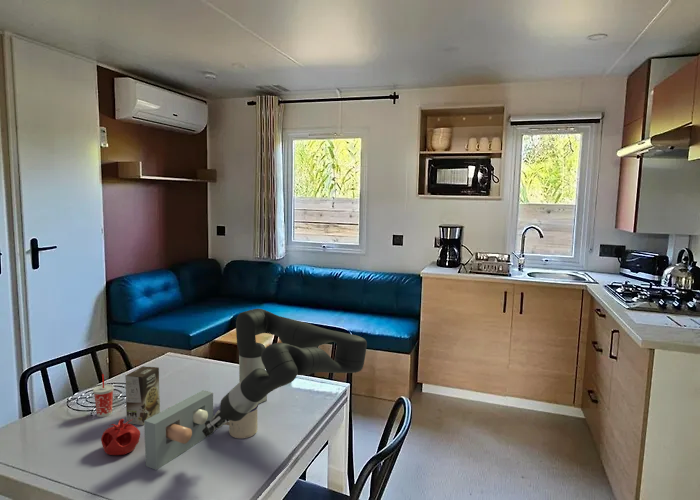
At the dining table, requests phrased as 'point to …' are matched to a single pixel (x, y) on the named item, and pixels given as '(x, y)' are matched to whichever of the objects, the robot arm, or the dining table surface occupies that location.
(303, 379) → the dining table surface
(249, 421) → the teacup with lid
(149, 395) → the coffee box
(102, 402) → the beverage cup
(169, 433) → the terracotta button
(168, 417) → the button panel
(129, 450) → the tomato
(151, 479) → the dining table surface
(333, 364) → the robot arm
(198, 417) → the cream button
